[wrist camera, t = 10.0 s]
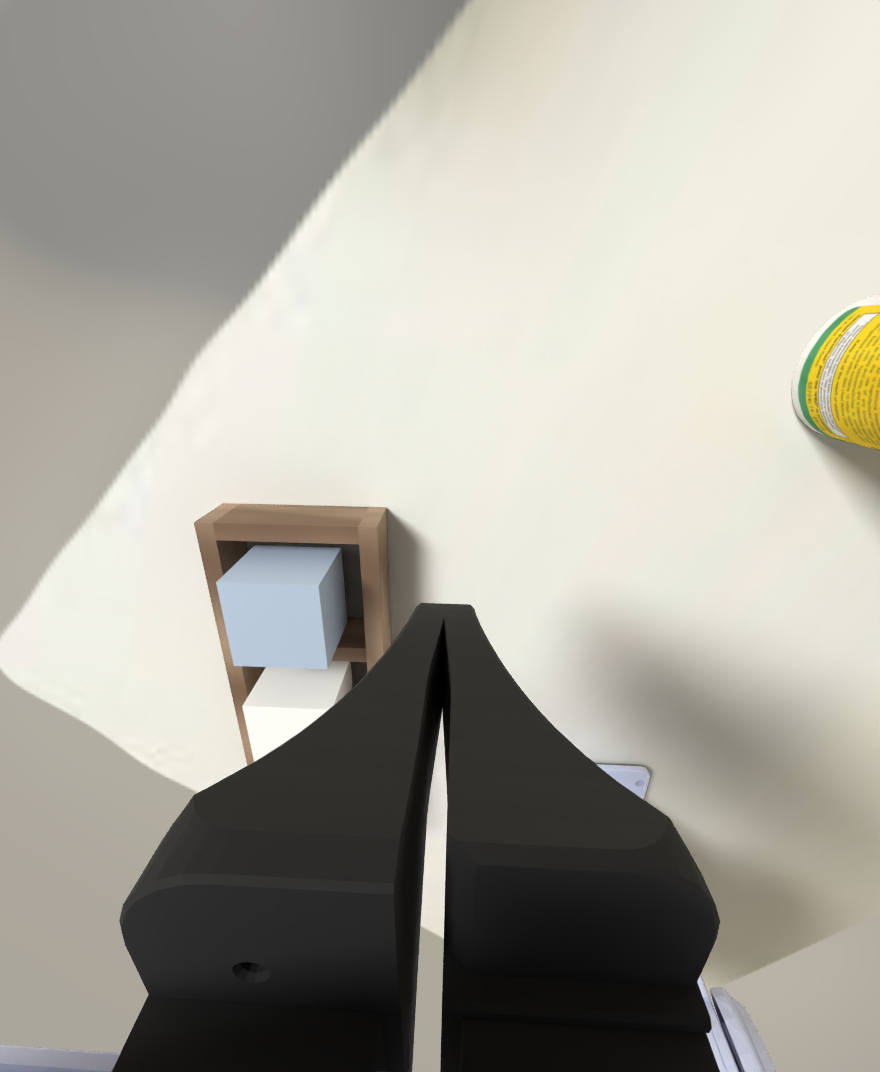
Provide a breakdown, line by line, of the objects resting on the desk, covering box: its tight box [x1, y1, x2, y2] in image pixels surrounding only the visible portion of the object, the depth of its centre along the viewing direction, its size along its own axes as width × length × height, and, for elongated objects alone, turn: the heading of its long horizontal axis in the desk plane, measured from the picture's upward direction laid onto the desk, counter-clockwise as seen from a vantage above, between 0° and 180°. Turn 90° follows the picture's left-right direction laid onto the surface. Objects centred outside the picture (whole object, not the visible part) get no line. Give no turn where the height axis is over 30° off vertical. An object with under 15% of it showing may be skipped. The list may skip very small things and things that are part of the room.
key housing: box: [194, 504, 391, 765], centre depth 24 cm, size 19×8×2 cm, turn 179°
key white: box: [242, 661, 353, 762], centre depth 22 cm, size 4×4×4 cm
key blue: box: [216, 545, 347, 669], centre depth 19 cm, size 4×4×4 cm
